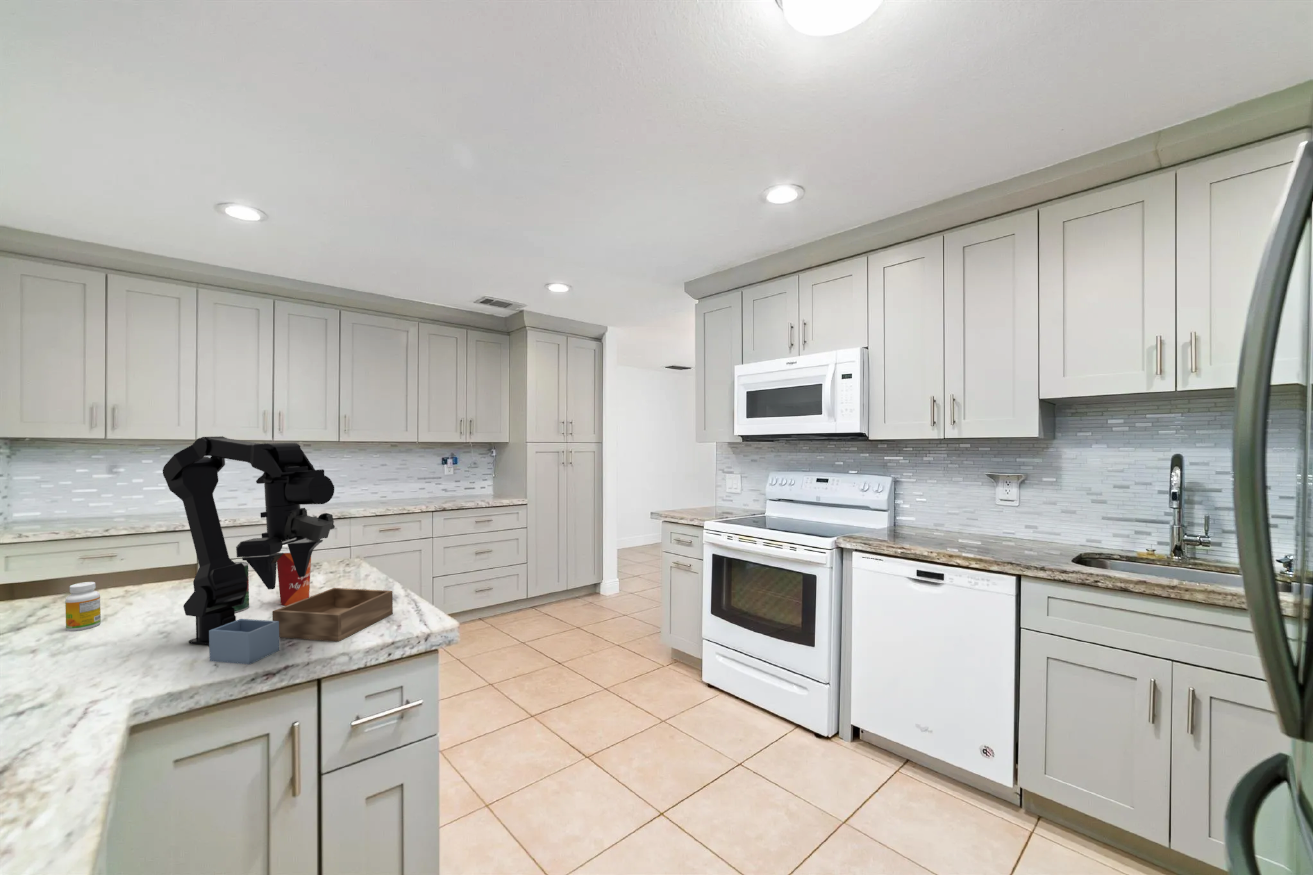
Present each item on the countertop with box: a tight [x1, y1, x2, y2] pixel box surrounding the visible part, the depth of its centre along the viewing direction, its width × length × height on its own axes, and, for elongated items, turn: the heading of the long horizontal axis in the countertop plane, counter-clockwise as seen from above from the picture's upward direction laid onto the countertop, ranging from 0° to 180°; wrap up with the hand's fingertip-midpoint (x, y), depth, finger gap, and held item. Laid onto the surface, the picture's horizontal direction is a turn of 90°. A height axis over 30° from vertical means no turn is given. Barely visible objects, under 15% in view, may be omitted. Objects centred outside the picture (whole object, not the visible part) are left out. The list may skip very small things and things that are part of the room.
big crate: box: [271, 587, 394, 642], centre depth 121 cm, size 16×17×6 cm
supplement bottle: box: [64, 581, 102, 632], centre depth 121 cm, size 5×5×10 cm
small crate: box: [208, 618, 280, 665], centre depth 105 cm, size 9×6×6 cm
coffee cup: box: [276, 543, 312, 607], centre depth 138 cm, size 8×8×15 cm
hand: (287, 582), depth 108 cm, fingers open, 9 cm apart
